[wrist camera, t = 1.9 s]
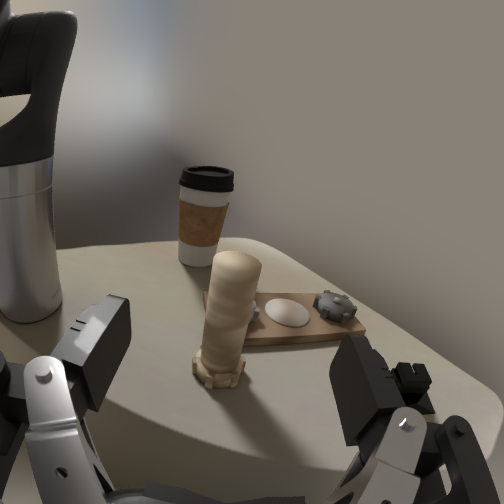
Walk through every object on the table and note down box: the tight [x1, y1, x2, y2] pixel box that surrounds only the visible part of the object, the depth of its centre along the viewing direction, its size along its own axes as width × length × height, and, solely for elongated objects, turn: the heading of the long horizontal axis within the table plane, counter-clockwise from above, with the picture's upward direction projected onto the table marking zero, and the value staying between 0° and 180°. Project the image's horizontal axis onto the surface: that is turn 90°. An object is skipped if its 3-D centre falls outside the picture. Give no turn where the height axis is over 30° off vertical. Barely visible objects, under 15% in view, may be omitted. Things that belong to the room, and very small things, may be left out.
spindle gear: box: [192, 251, 262, 389], centre depth 23 cm, size 5×5×12 cm
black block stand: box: [390, 362, 435, 415], centre depth 24 cm, size 12×7×5 cm, turn 84°
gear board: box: [203, 290, 366, 346], centre depth 35 cm, size 20×9×3 cm, turn 105°
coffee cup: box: [178, 166, 234, 267], centre depth 44 cm, size 8×8×15 cm
